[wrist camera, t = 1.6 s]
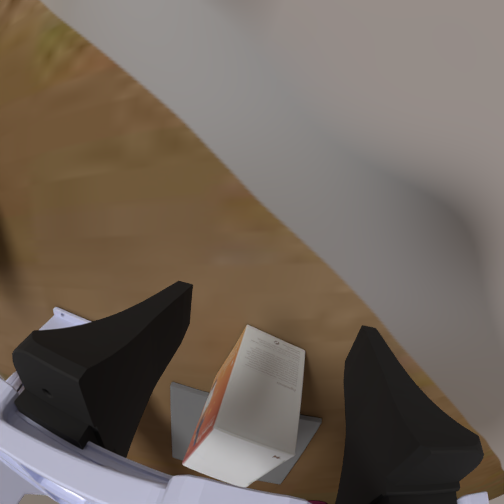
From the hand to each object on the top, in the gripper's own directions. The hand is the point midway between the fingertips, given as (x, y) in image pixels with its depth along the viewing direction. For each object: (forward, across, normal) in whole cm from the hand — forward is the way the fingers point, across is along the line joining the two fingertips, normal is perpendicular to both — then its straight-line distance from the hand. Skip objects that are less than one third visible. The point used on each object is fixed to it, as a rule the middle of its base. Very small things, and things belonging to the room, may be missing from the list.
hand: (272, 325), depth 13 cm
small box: (+11, 0, +13) cm, 17 cm away
